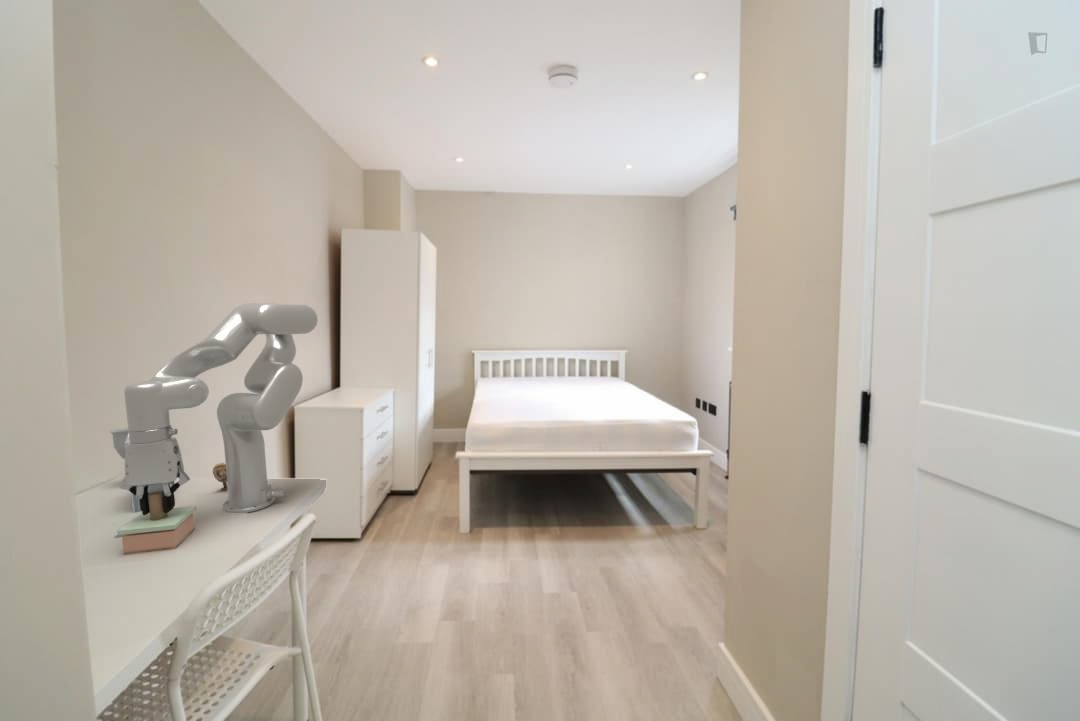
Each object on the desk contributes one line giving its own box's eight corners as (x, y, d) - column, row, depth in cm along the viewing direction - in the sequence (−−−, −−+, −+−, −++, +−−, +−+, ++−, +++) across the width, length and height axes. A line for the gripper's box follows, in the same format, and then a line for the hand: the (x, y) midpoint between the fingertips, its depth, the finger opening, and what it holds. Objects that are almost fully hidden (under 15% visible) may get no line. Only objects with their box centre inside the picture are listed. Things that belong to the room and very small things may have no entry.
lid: (196, 509, 121) (193, 482, 120) (175, 529, 110) (172, 499, 109) (144, 514, 118) (141, 486, 117) (117, 535, 107) (114, 504, 106)
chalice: (120, 491, 147) (114, 433, 145) (112, 487, 151) (106, 430, 149) (150, 484, 153) (144, 428, 151) (141, 480, 157) (135, 425, 155)
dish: (194, 530, 121) (193, 513, 120) (175, 549, 111) (173, 531, 110) (147, 535, 118) (146, 517, 118) (124, 555, 108) (122, 536, 108)
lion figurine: (222, 495, 143) (220, 466, 142) (209, 493, 145) (206, 464, 144) (265, 478, 157) (262, 451, 156) (252, 477, 158) (250, 450, 157)
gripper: (198, 428, 117) (205, 501, 119) (117, 433, 113) (126, 509, 115) (184, 436, 110) (191, 514, 112) (97, 442, 106) (106, 523, 108)
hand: (158, 511), depth 114 cm, fingers open, 3 cm apart
